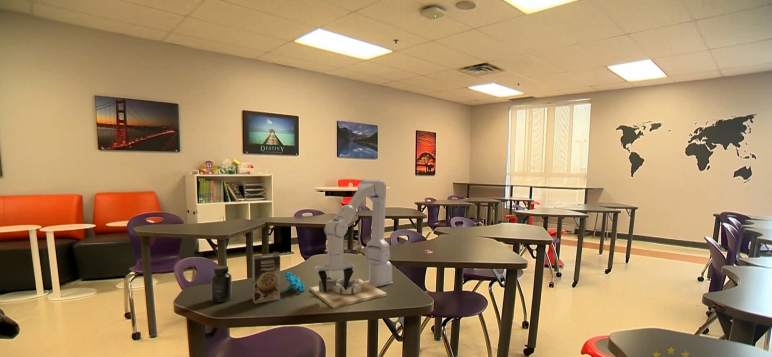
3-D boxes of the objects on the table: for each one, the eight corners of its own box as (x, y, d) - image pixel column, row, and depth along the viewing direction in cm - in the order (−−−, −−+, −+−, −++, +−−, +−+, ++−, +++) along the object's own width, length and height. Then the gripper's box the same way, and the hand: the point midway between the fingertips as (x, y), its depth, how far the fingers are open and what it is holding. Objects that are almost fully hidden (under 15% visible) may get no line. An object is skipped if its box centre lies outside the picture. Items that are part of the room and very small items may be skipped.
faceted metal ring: (361, 284, 139) (361, 275, 139) (361, 293, 128) (361, 284, 128) (321, 285, 138) (321, 276, 138) (317, 294, 127) (317, 285, 127)
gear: (302, 291, 130) (284, 272, 131) (290, 303, 129) (273, 283, 130) (309, 286, 141) (292, 268, 142) (298, 296, 140) (282, 278, 141)
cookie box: (254, 304, 121) (254, 258, 121) (252, 298, 127) (252, 255, 127) (280, 299, 126) (280, 256, 125) (277, 294, 131) (277, 252, 131)
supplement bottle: (235, 298, 127) (235, 265, 127) (221, 304, 121) (221, 270, 121) (221, 295, 130) (221, 264, 130) (206, 302, 123) (206, 269, 123)
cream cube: (332, 281, 148) (332, 267, 148) (329, 277, 154) (329, 263, 154) (345, 279, 150) (345, 265, 150) (342, 275, 156) (342, 262, 156)
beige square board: (358, 280, 148) (358, 270, 148) (386, 295, 130) (386, 283, 130) (309, 290, 136) (309, 278, 136) (333, 308, 118) (333, 295, 118)
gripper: (351, 249, 132) (351, 284, 132) (313, 252, 127) (313, 289, 127) (356, 253, 126) (356, 290, 126) (317, 256, 120) (317, 295, 120)
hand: (335, 290), depth 126 cm, fingers open, 7 cm apart
